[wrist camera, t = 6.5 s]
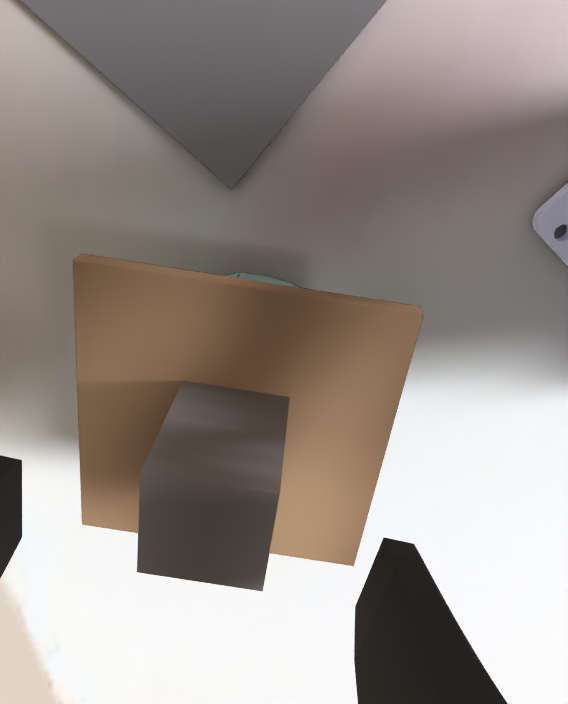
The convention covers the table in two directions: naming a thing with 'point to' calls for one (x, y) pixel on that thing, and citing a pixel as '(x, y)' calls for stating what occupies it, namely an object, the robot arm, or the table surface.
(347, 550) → the cover
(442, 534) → the table surface
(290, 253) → the table surface
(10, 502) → the robot arm
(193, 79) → the mat
